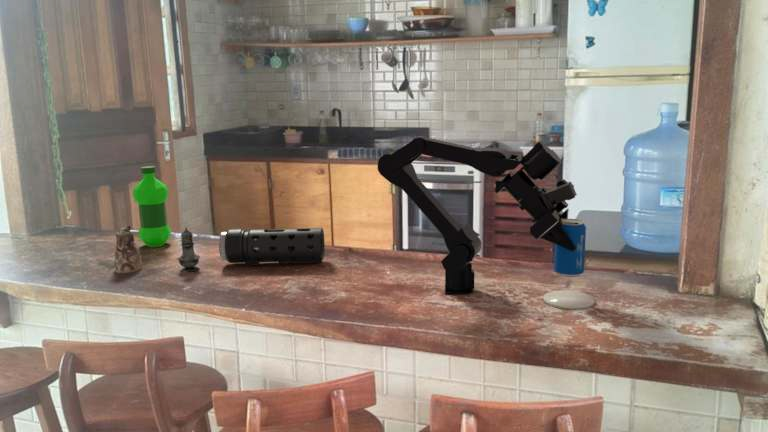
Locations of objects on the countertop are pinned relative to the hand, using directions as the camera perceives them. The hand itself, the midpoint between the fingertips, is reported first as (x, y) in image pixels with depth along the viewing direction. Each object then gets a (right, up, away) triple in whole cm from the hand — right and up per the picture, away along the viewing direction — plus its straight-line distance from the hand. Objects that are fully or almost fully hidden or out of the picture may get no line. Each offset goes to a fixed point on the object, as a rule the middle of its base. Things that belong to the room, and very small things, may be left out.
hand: (576, 245), depth 145 cm
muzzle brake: (-73, -7, +40) cm, 84 cm away
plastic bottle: (-115, -3, +65) cm, 132 cm away
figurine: (-114, -8, +39) cm, 120 cm away
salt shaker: (-96, -9, +36) cm, 103 cm away
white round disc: (-1, -13, +3) cm, 13 cm away
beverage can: (-1, -7, +2) cm, 7 cm away
